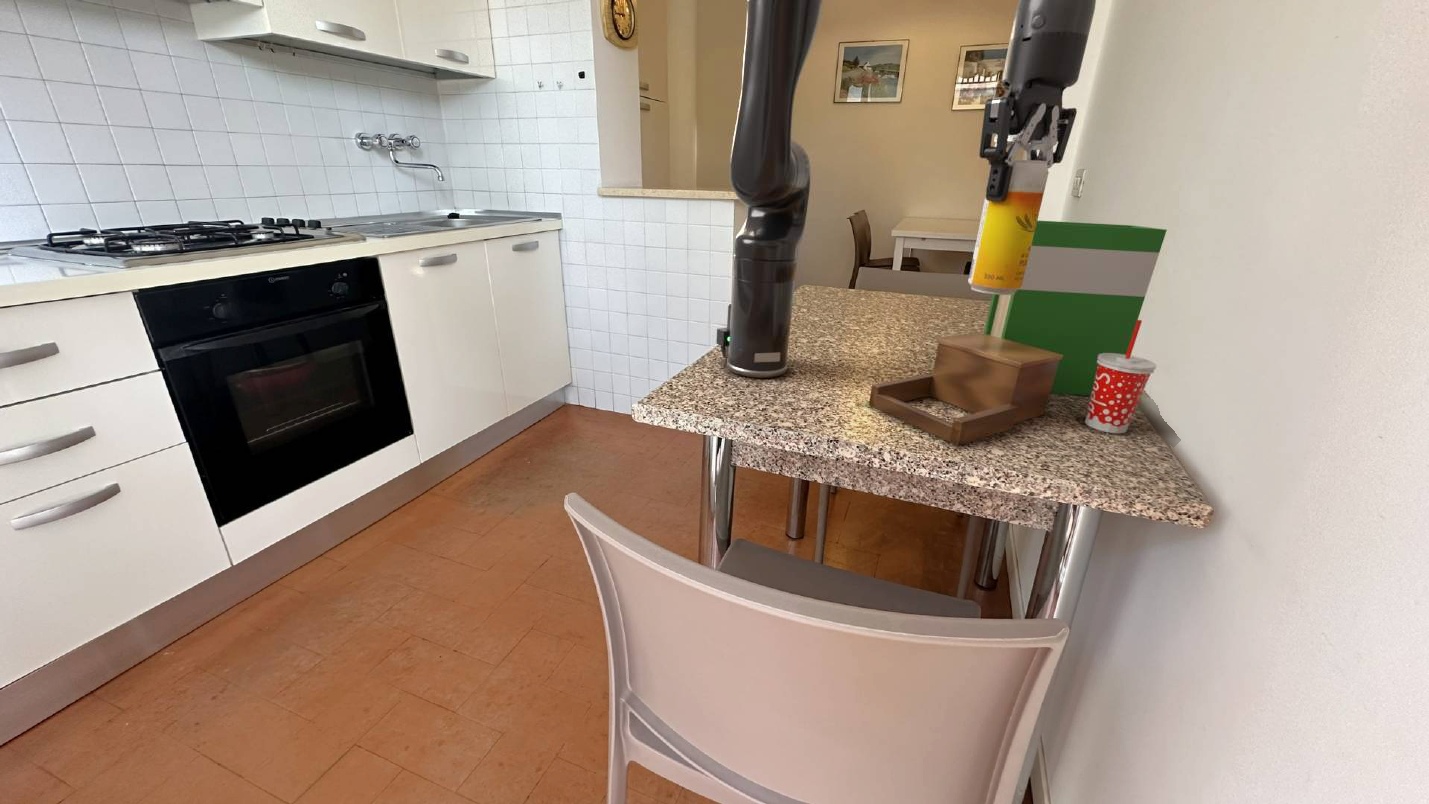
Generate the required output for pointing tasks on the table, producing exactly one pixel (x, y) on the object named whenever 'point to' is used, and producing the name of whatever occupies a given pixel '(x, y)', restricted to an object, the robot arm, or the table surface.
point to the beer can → (1008, 231)
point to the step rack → (974, 387)
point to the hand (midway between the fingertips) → (1012, 200)
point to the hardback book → (1079, 295)
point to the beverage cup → (1118, 388)
